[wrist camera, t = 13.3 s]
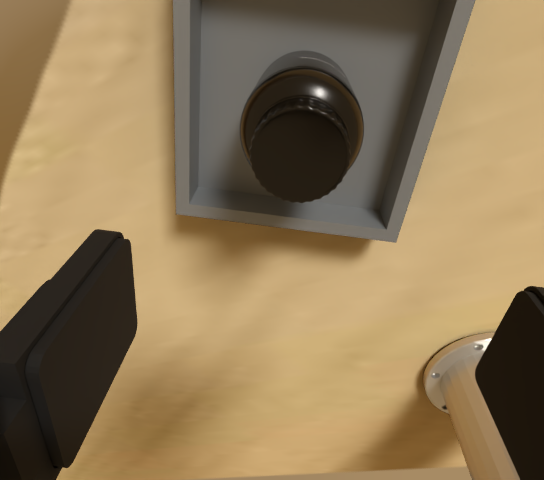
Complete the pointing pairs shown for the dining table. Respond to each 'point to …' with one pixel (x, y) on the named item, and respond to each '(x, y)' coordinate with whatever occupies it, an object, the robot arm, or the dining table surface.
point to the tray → (362, 77)
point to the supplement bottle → (301, 127)
